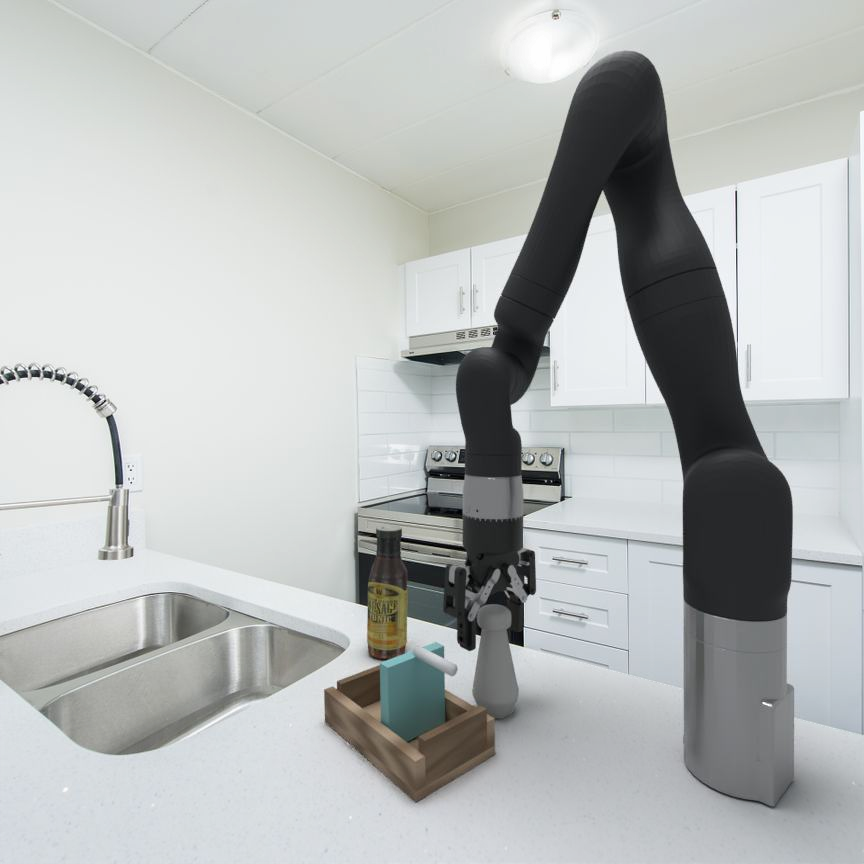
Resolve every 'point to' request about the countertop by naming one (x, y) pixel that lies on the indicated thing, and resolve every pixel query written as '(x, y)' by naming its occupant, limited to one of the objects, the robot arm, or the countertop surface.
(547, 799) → the countertop surface
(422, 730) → the pusher paddle
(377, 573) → the sauce bottle
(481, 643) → the salt shaker
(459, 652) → the countertop surface
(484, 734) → the wooden tray
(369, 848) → the countertop surface
